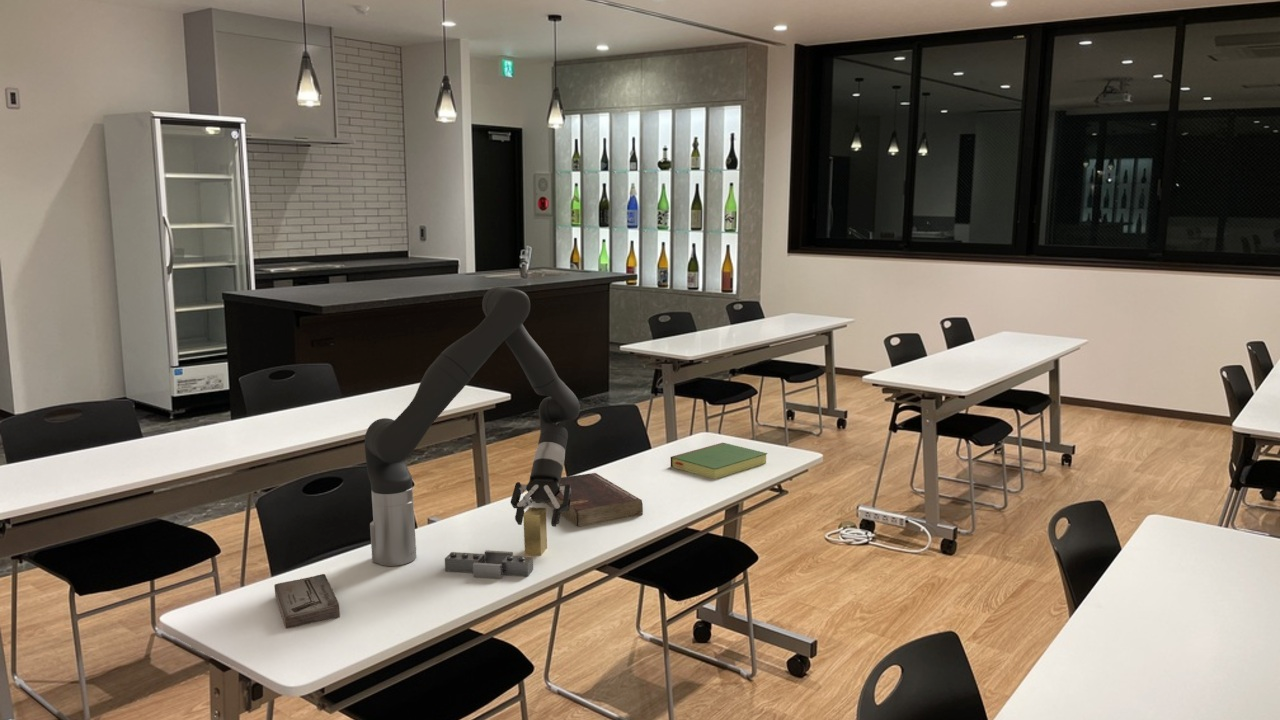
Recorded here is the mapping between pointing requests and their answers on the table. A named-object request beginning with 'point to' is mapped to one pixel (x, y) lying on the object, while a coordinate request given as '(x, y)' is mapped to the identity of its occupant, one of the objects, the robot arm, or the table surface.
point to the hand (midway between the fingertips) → (536, 524)
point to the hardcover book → (718, 460)
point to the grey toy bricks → (489, 564)
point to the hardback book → (597, 500)
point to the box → (306, 601)
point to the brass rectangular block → (535, 531)
